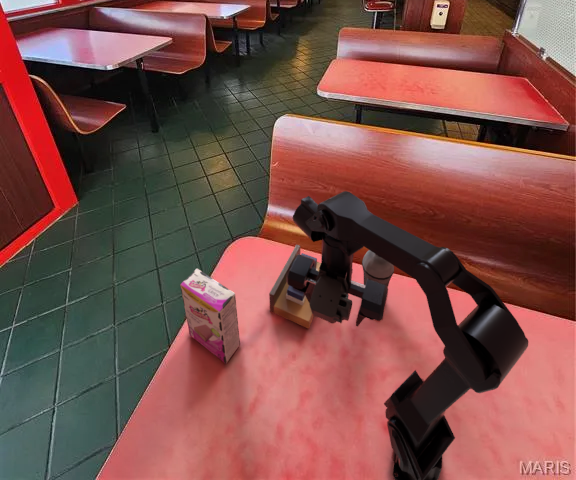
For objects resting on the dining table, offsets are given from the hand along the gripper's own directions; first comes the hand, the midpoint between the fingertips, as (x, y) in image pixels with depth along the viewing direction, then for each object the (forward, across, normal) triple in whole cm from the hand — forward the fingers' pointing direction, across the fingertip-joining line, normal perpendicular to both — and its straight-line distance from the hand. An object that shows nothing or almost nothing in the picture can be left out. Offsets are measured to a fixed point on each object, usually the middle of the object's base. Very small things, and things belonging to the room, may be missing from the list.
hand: (334, 314), depth 66 cm
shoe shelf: (+11, -12, +10) cm, 19 cm away
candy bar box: (+11, -24, -9) cm, 28 cm away
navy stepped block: (+9, -11, +10) cm, 18 cm away
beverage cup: (+12, +5, +15) cm, 20 cm away
